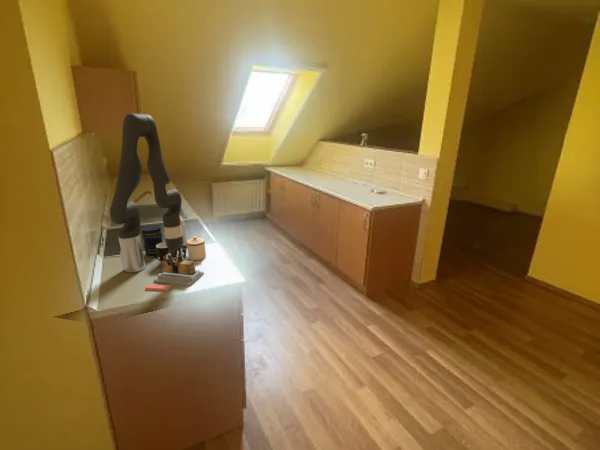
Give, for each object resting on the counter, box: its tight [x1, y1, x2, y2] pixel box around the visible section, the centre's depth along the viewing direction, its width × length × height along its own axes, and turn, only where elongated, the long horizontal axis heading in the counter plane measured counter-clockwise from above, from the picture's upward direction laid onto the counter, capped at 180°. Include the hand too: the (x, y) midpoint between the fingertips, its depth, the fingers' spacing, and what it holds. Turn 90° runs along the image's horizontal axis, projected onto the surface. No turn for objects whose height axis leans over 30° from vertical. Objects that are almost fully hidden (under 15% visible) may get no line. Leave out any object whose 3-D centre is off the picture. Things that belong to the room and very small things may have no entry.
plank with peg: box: [161, 256, 196, 275], centre depth 148 cm, size 14×4×7 cm, turn 76°
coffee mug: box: [154, 241, 173, 266], centre depth 164 cm, size 12×9×10 cm
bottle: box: [180, 216, 188, 245], centre depth 183 cm, size 7×7×28 cm
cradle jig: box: [153, 269, 205, 287], centre depth 150 cm, size 18×12×3 cm, turn 76°
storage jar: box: [140, 224, 164, 258], centre depth 176 cm, size 10×10×15 cm
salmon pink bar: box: [144, 283, 172, 292], centre depth 141 cm, size 10×3×2 cm, turn 84°
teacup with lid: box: [186, 235, 207, 261], centre depth 172 cm, size 12×9×12 cm
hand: (178, 270), depth 149 cm, fingers closed on plank with peg, 4 cm apart
